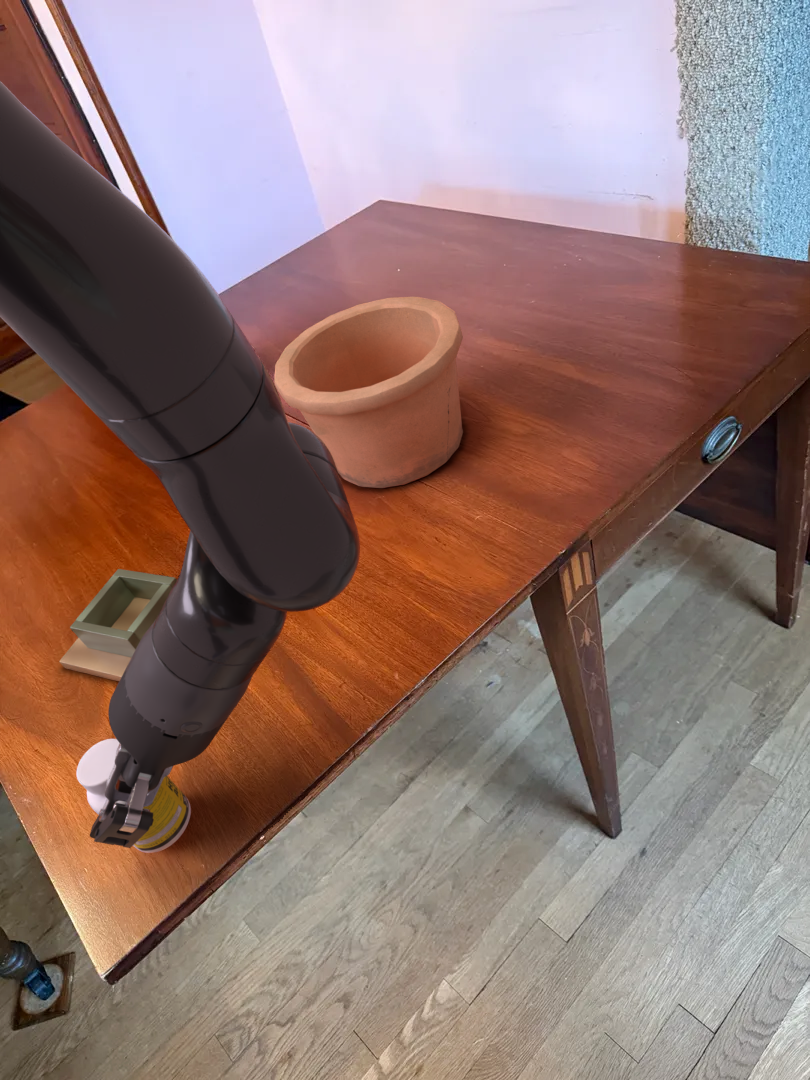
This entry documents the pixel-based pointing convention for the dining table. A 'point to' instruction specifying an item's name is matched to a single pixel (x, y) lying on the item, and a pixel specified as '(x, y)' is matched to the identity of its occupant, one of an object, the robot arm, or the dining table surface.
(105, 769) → the supplement bottle
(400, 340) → the pottery
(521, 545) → the dining table surface
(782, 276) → the dining table surface
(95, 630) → the holder
